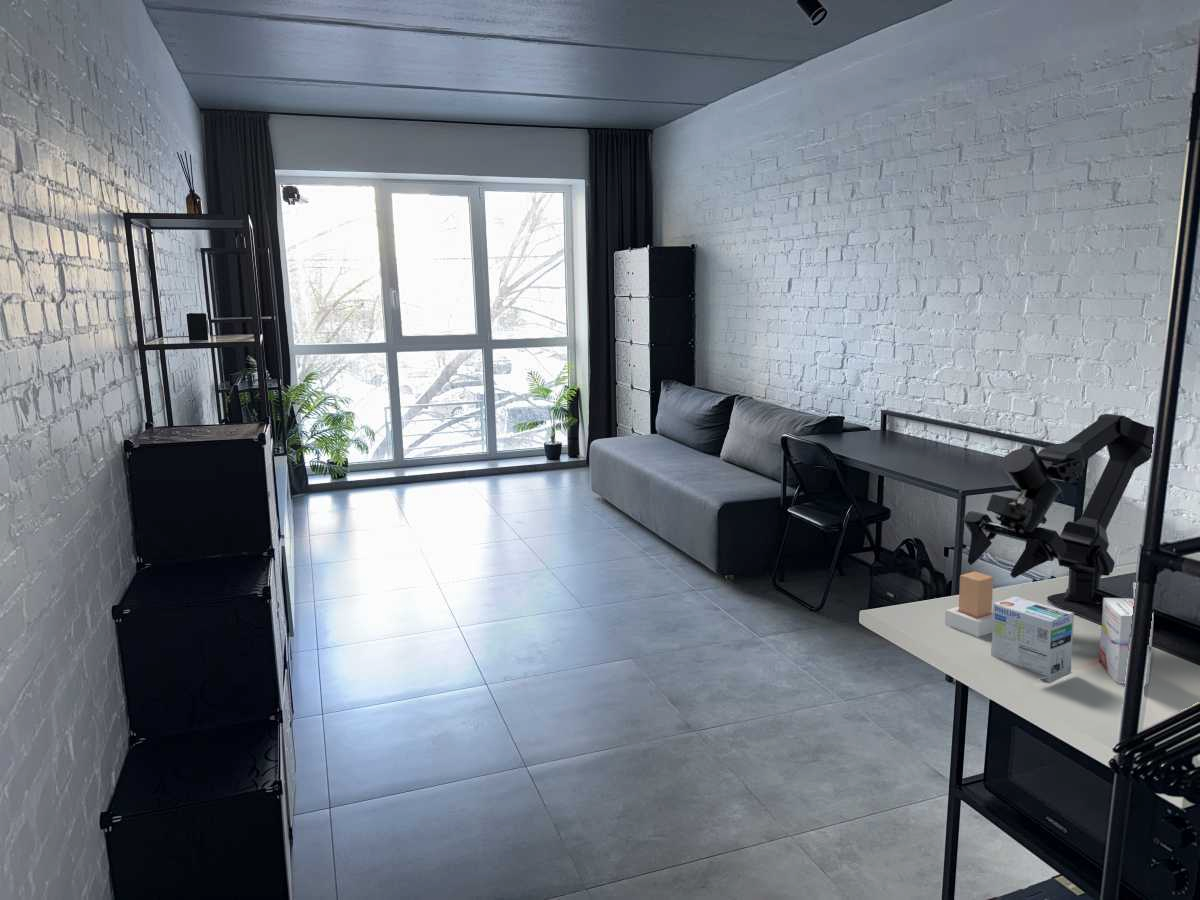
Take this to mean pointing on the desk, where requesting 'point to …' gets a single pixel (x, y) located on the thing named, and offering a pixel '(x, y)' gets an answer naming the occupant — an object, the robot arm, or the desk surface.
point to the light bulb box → (1033, 636)
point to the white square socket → (969, 622)
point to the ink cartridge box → (1118, 636)
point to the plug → (975, 594)
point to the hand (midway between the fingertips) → (990, 569)
